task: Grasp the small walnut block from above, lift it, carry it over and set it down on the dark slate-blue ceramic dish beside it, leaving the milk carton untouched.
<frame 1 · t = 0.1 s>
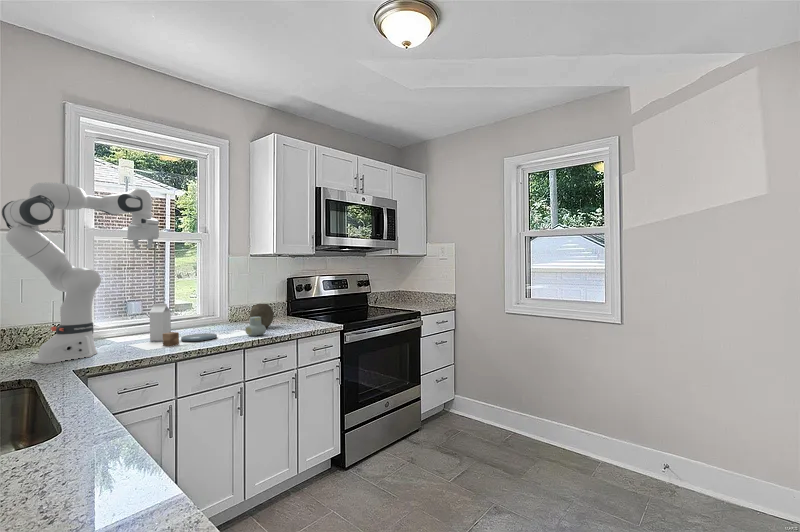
hand: (143, 248, 215), 48 cm above the countertop, tool pointing down, fingers open, 8 cm apart
air freshener: (255, 335, 232), on the countertop
dish: (199, 339, 223), on the countertop
milk carton: (160, 340, 223), on the countertop
dark rounded stone: (262, 328, 257), on the countertop
block: (171, 345, 209), on the countertop
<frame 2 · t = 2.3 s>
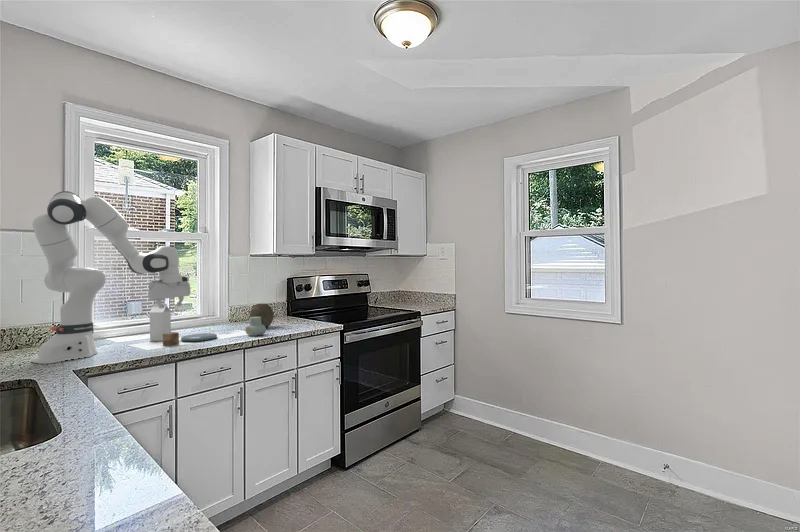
hand: (170, 307, 209), 19 cm above the countertop, tool pointing down, fingers open, 8 cm apart
nothing on the countertop moved.
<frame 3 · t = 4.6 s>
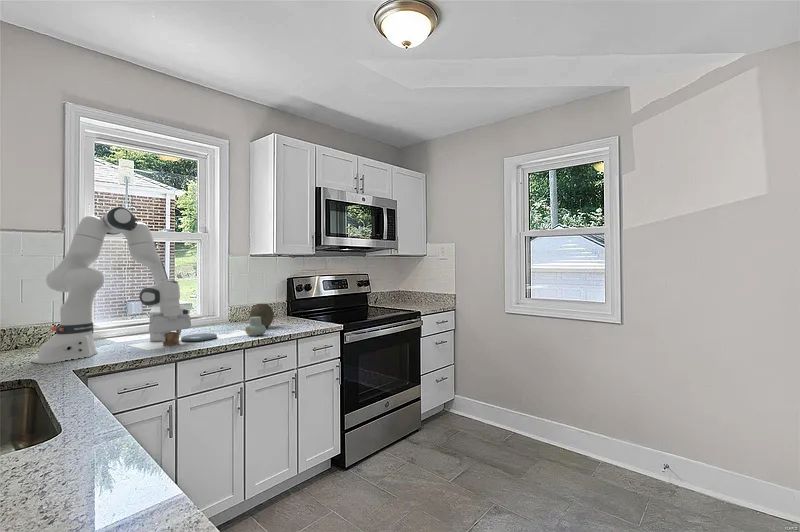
hand: (170, 340, 209), 2 cm above the countertop, tool pointing down, fingers closed on block, 5 cm apart
block: (171, 345, 209), on the countertop, touching gripper
everything else where it was.
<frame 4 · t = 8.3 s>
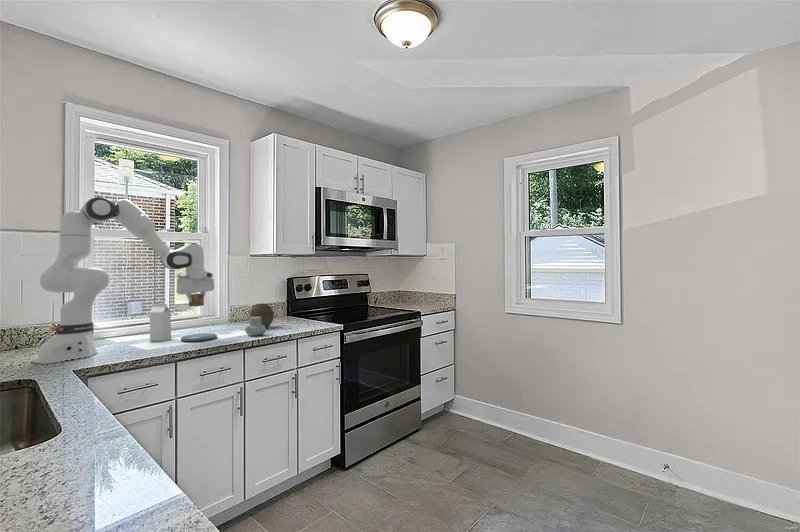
hand: (196, 301, 222), 20 cm above the countertop, tool pointing down, fingers closed on block, 5 cm apart
block: (196, 305, 222), point 18 cm above the countertop, touching gripper
everything else where it was.
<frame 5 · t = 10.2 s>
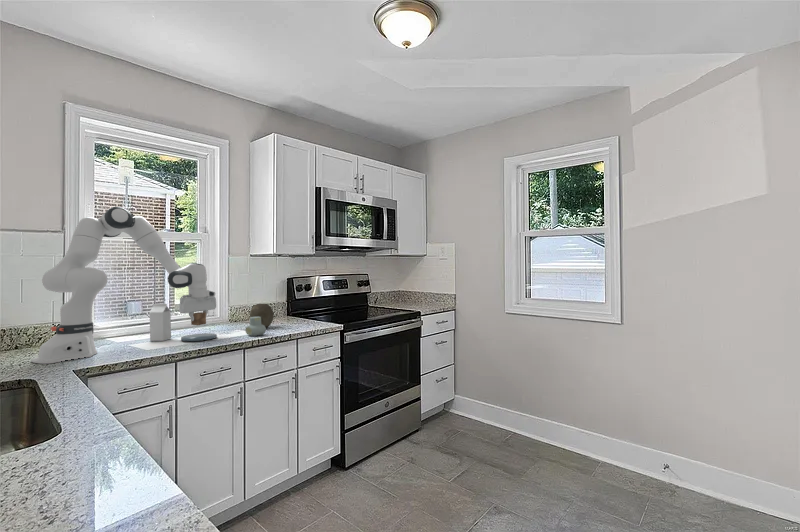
hand: (198, 320, 223), 10 cm above the countertop, tool pointing down, fingers closed on block, 5 cm apart
block: (198, 324, 223), point 8 cm above the countertop, touching gripper
everything else where it was.
when the fingers open (5 cm above the countertop, at t = 12.0 s): block drops 1 cm, resting on dish.
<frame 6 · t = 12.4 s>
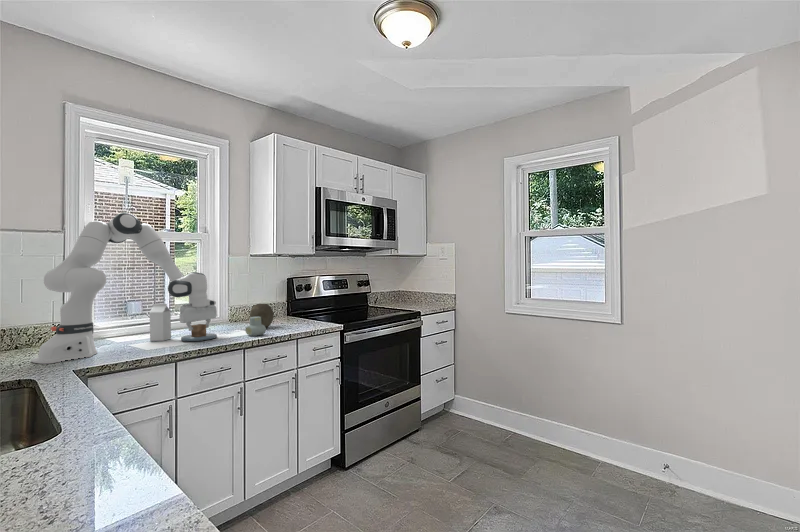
hand: (198, 329, 223), 5 cm above the countertop, tool pointing down, fingers open, 8 cm apart
block: (198, 336, 223), point 2 cm above the countertop, touching dish
everything else where it was.
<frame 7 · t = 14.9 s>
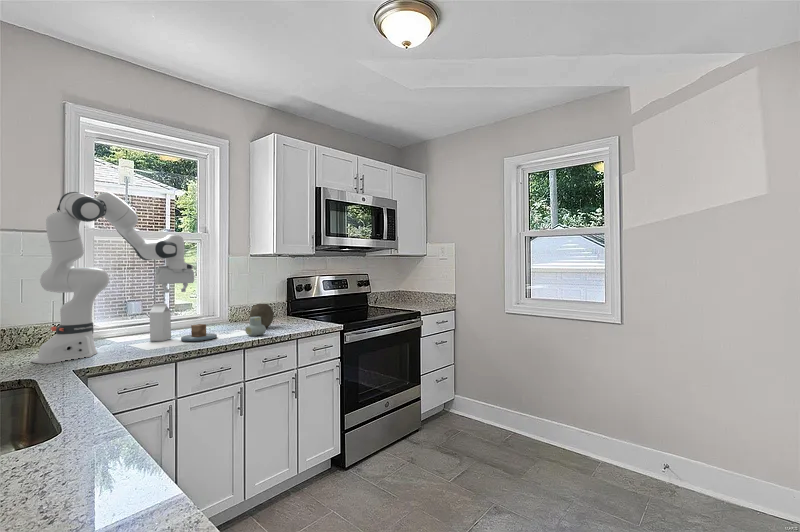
hand: (175, 292, 222), 25 cm above the countertop, tool pointing down, fingers open, 8 cm apart
nothing on the countertop moved.
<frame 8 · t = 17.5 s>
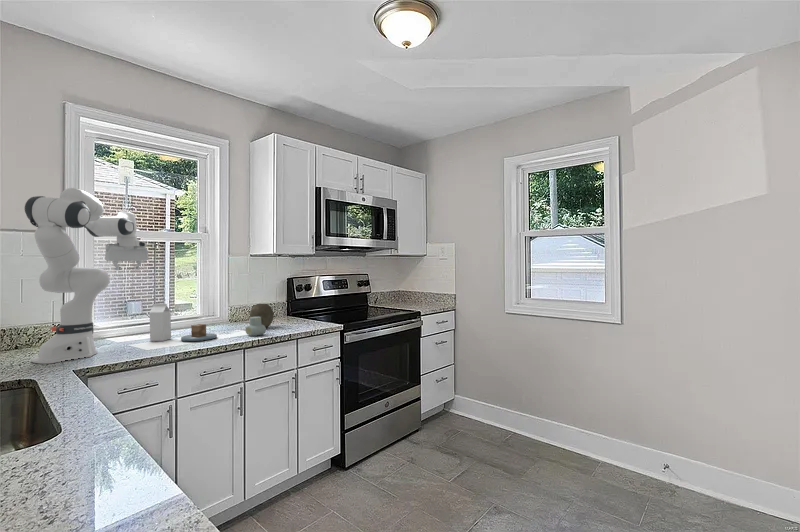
hand: (127, 270, 220), 37 cm above the countertop, tool pointing down, fingers open, 8 cm apart
nothing on the countertop moved.
at the end: block inside the target area on the dish (0.1 cm from its centre), point 1.6 cm above the dish's base; block tilted 0°; the gripper is holding nothing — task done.
